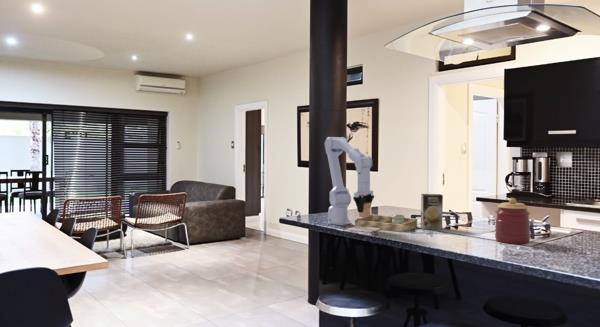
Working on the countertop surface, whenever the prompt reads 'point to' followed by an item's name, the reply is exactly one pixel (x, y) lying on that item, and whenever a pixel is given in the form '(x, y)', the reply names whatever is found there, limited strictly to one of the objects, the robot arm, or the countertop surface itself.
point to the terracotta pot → (365, 210)
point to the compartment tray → (386, 223)
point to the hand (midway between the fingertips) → (363, 211)
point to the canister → (512, 223)
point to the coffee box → (431, 211)
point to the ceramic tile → (363, 229)
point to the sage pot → (397, 219)
